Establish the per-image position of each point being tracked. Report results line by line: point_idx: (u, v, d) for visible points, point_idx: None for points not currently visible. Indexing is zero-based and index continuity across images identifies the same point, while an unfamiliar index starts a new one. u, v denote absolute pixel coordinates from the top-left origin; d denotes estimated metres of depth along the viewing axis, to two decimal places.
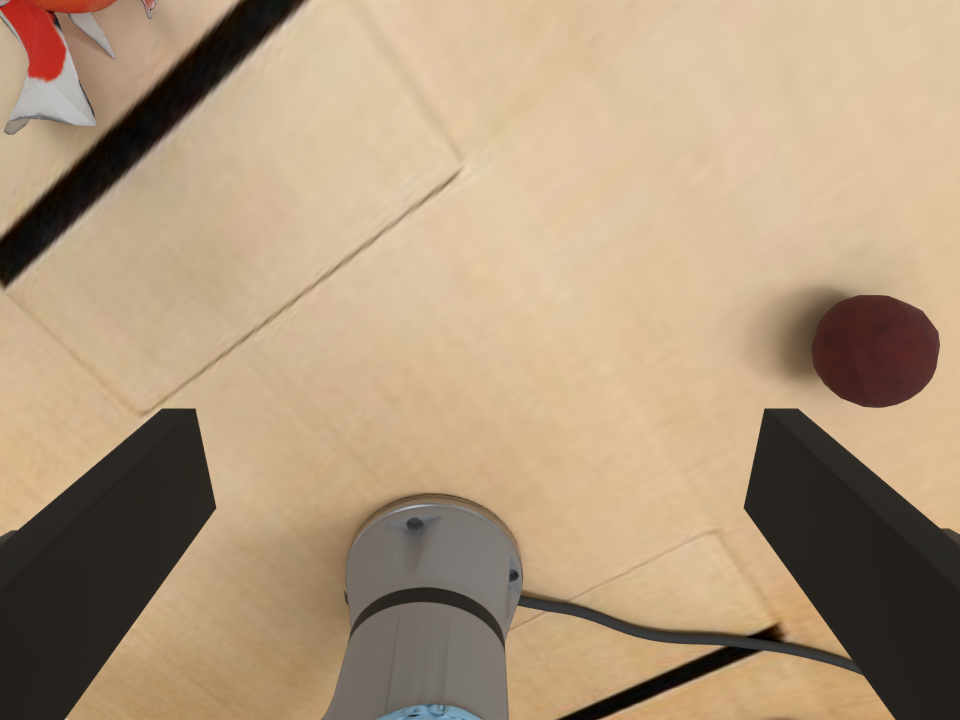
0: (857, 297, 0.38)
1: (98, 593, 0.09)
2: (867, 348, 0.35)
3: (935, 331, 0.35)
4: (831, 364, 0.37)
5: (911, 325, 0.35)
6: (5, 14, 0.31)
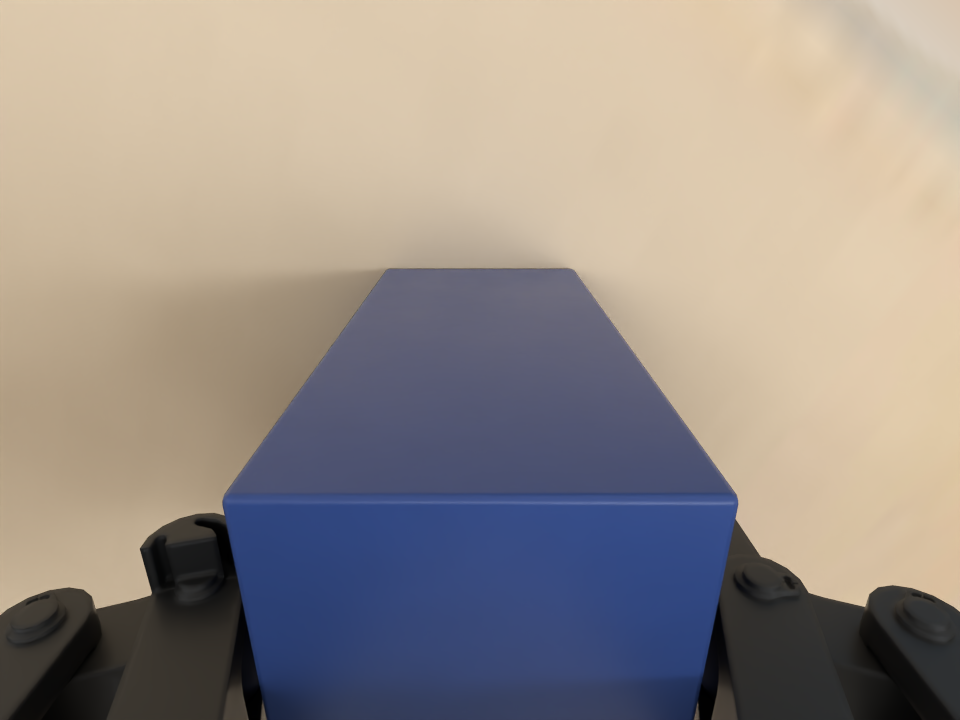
0: None
1: None
2: None
3: None
4: None
5: None
6: None
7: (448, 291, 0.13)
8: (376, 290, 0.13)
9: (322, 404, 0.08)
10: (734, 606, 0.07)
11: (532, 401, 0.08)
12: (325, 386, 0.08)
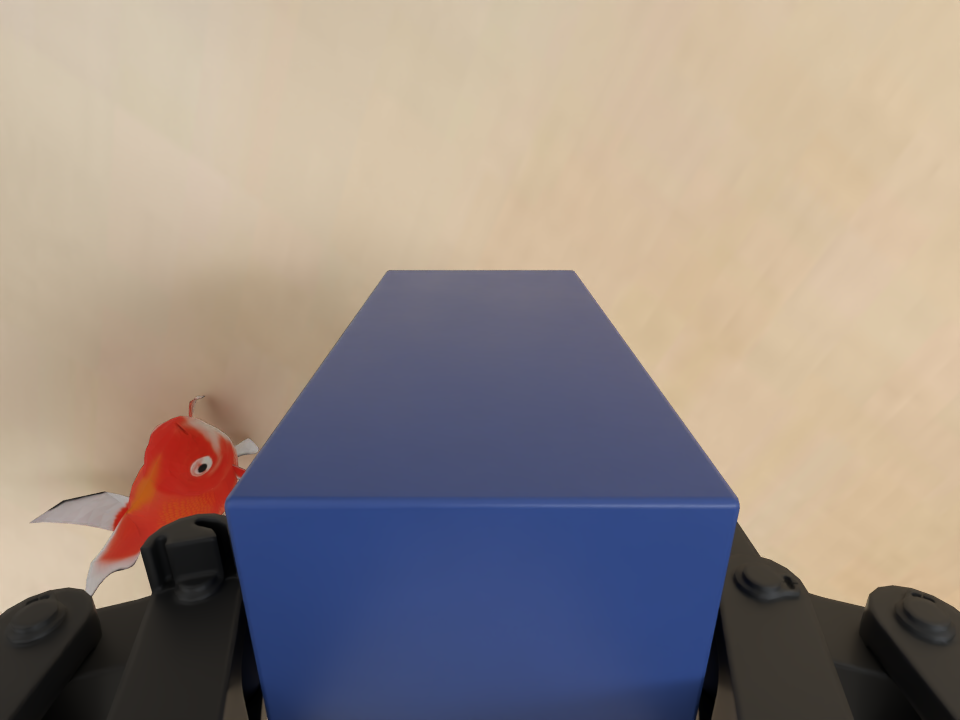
0: None
1: None
2: None
3: None
4: None
5: None
6: None
7: (449, 292, 0.13)
8: (377, 292, 0.13)
9: (323, 407, 0.08)
10: (734, 606, 0.07)
11: (533, 404, 0.08)
12: (326, 388, 0.08)
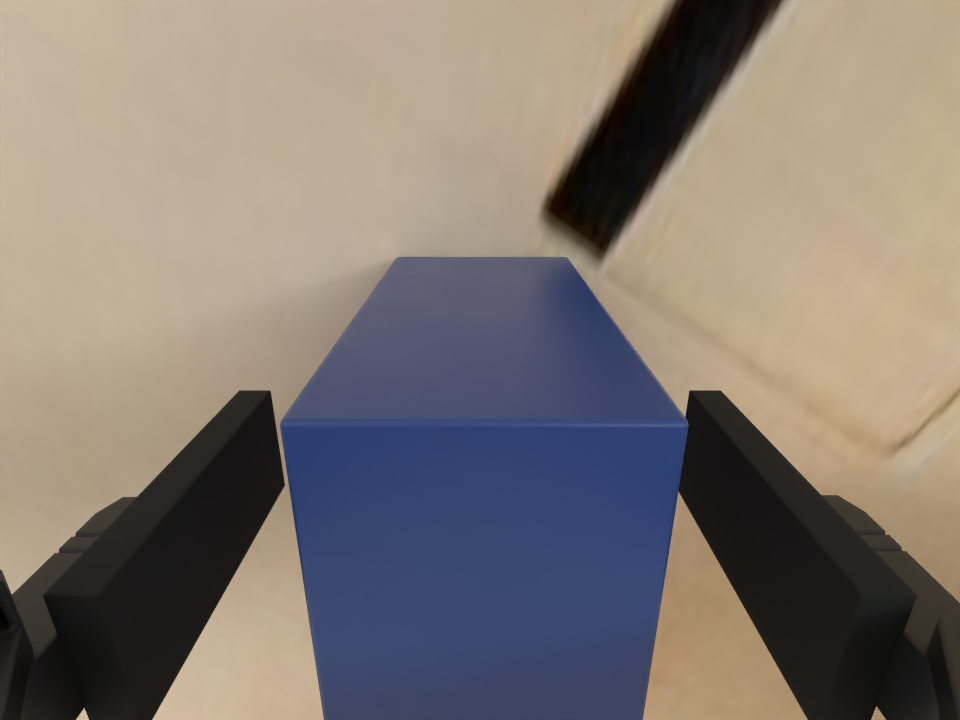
0: None
1: (205, 553, 0.10)
2: None
3: None
4: None
5: None
6: None
7: (453, 275, 0.15)
8: (389, 274, 0.15)
9: (351, 360, 0.09)
10: None
11: (527, 358, 0.09)
12: (352, 347, 0.10)
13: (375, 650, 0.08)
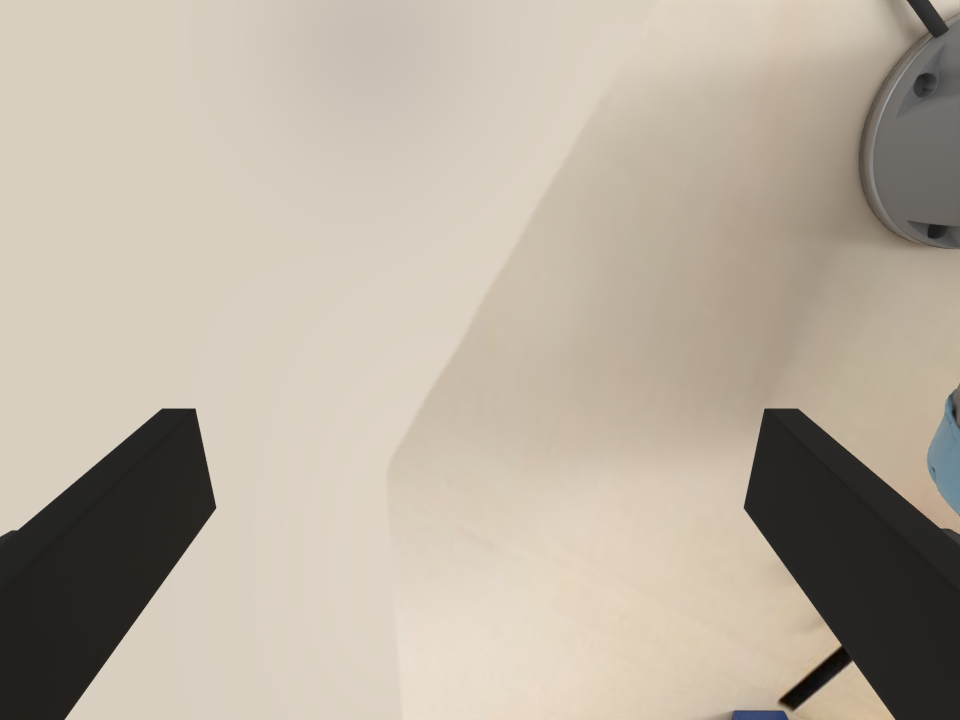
0: None
1: (98, 593, 0.09)
2: None
3: None
4: None
5: None
6: None
7: None
8: None
9: None
10: None
11: None
12: None
13: None
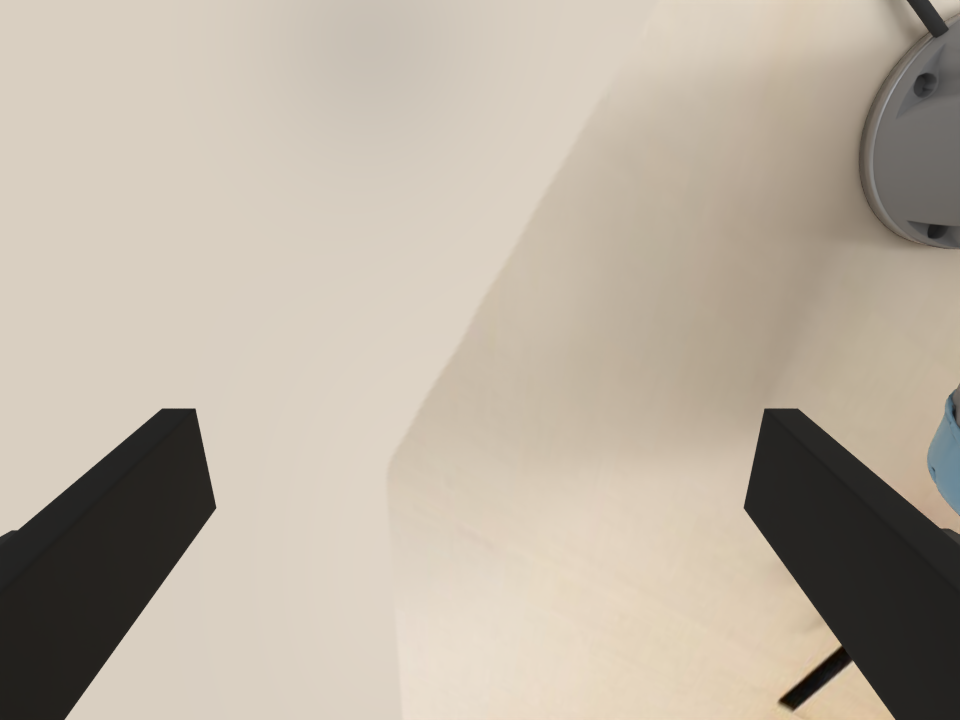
0: None
1: (98, 593, 0.09)
2: None
3: None
4: None
5: None
6: None
7: None
8: None
9: None
10: None
11: None
12: None
13: None
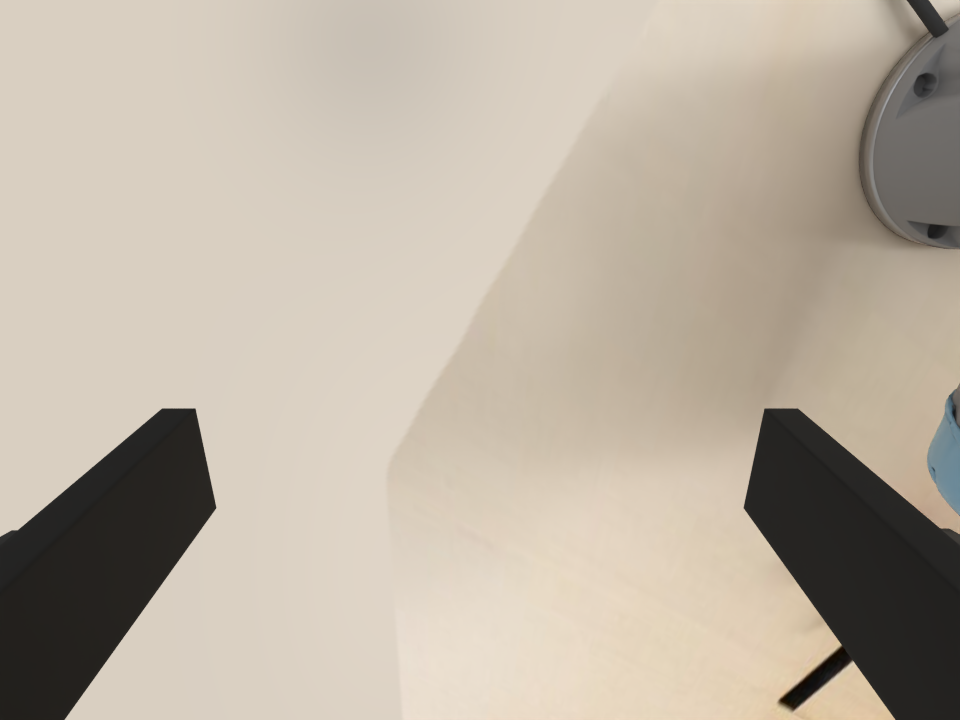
0: None
1: (98, 593, 0.09)
2: None
3: None
4: None
5: None
6: None
7: None
8: None
9: None
10: None
11: None
12: None
13: None
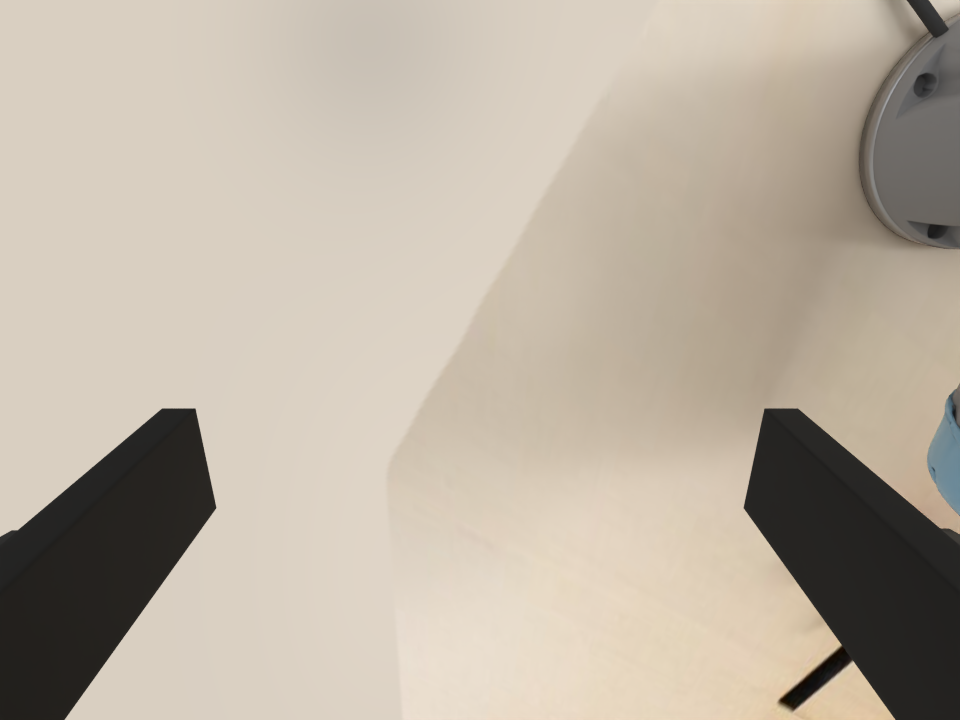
0: None
1: (98, 593, 0.09)
2: None
3: None
4: None
5: None
6: None
7: None
8: None
9: None
10: None
11: None
12: None
13: None
